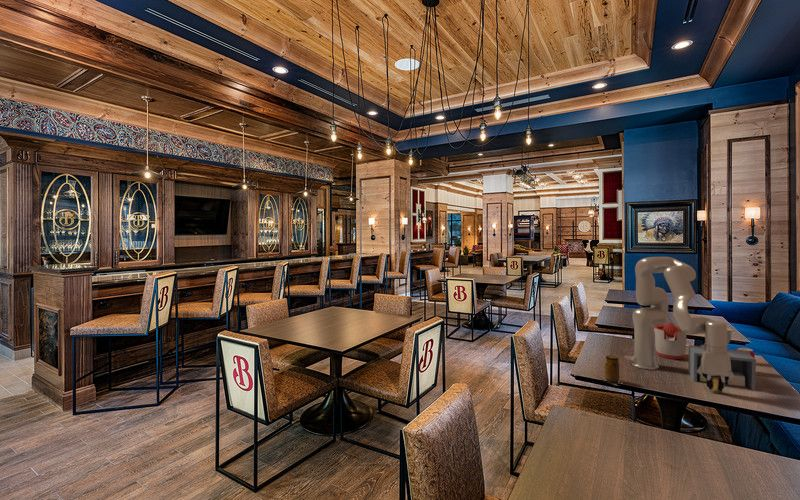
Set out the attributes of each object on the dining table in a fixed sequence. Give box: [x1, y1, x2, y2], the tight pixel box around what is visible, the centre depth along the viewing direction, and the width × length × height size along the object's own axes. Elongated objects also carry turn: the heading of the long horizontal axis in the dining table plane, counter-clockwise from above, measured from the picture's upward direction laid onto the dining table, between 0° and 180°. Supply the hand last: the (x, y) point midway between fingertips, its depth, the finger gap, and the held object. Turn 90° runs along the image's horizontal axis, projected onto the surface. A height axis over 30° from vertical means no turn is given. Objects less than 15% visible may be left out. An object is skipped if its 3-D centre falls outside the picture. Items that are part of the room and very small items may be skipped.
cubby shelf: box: [687, 344, 757, 391], centre depth 180 cm, size 22×14×14 cm, turn 61°
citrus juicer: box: [653, 322, 687, 360], centre depth 216 cm, size 16×17×20 cm
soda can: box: [737, 347, 756, 359], centre depth 191 cm, size 7×7×12 cm
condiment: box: [604, 354, 620, 386], centre depth 181 cm, size 7×8×12 cm
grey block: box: [725, 371, 746, 388], centre depth 177 cm, size 6×6×5 cm
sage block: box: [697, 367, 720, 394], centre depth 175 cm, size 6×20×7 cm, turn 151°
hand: (715, 388), depth 167 cm, fingers closed on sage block, 3 cm apart
